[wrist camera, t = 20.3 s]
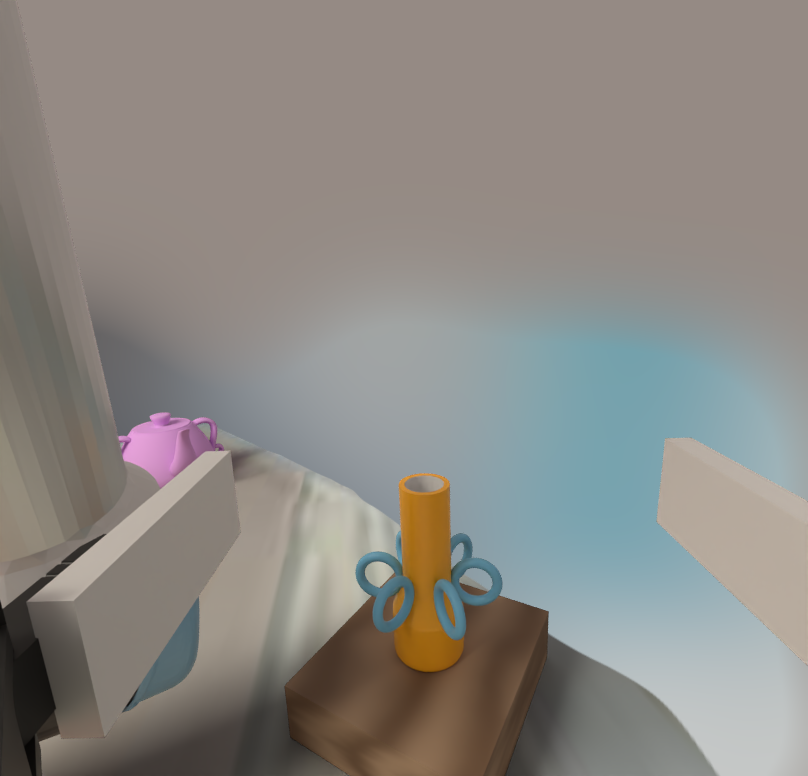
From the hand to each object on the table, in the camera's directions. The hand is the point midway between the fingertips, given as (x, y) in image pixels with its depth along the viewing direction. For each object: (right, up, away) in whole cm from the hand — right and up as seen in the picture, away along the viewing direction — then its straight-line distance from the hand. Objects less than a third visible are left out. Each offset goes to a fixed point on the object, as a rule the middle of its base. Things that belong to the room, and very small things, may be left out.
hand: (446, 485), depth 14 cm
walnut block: (+1, -24, +26) cm, 36 cm away
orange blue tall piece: (+1, -19, +25) cm, 32 cm away
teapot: (-45, -16, +73) cm, 87 cm away
